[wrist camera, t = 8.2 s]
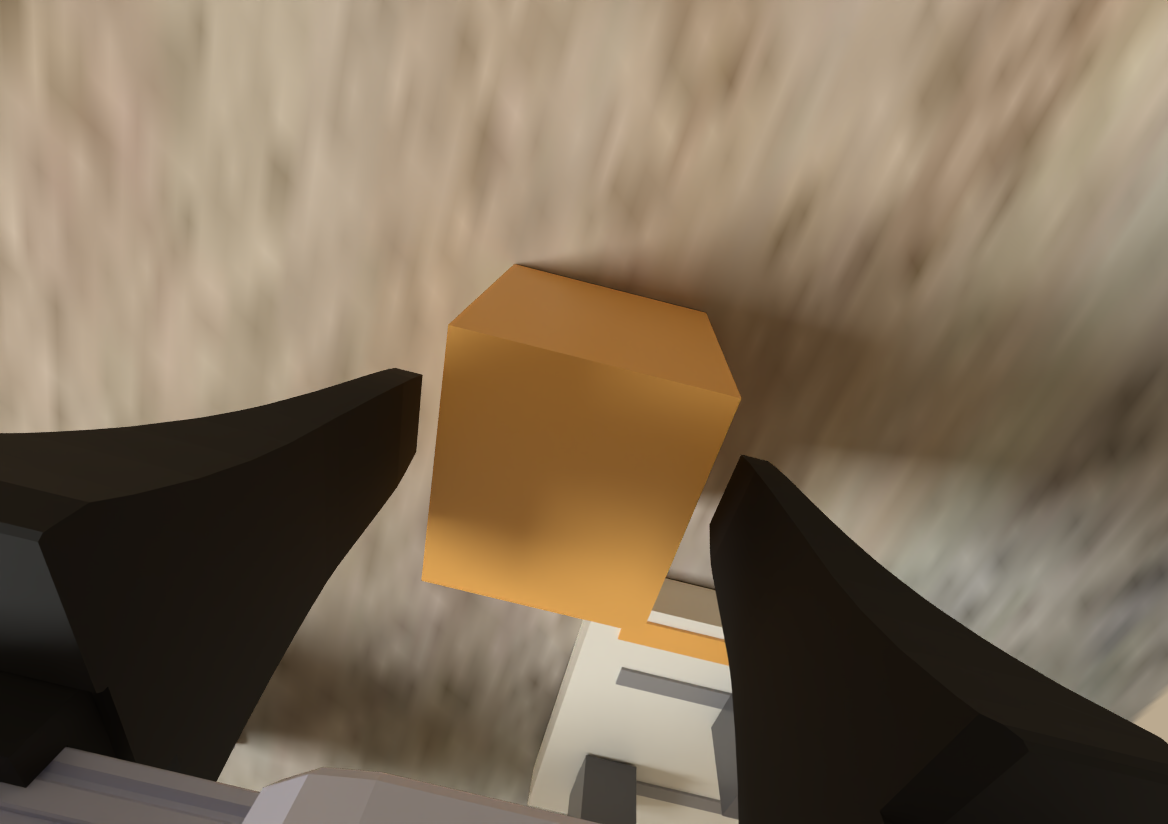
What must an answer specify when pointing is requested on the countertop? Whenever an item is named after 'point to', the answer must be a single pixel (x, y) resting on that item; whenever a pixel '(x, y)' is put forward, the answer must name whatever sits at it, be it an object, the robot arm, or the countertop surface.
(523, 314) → the cap
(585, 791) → the block
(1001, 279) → the countertop surface
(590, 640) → the panel
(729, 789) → the block
